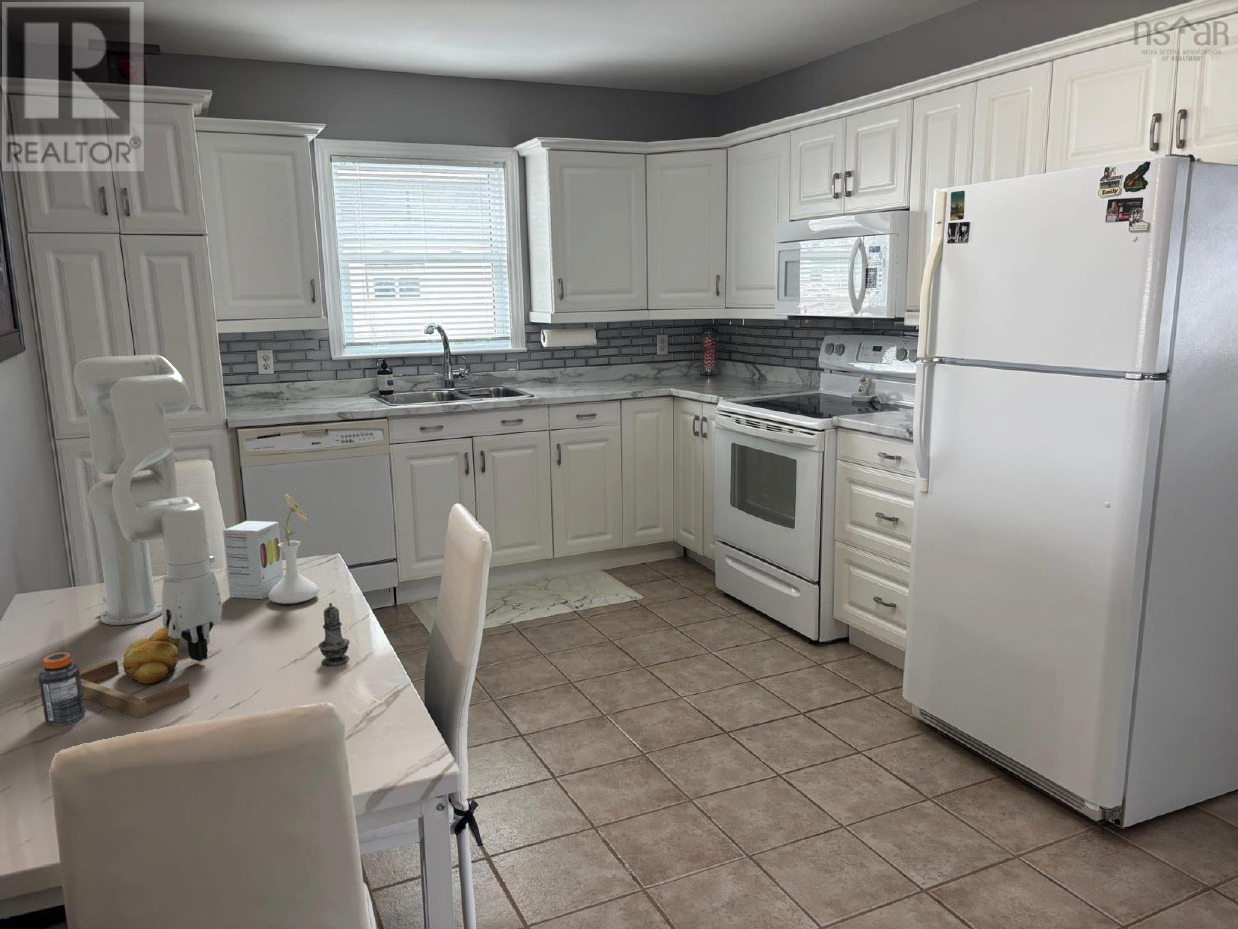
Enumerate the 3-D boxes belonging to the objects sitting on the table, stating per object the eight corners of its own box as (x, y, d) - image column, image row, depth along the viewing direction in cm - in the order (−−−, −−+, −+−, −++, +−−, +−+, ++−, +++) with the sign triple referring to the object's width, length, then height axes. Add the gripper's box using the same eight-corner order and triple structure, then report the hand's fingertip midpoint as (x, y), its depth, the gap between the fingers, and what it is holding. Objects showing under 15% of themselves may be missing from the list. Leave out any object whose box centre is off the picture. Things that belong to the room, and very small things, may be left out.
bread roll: (171, 685, 165) (166, 645, 164) (113, 692, 163) (107, 651, 162) (186, 658, 178) (182, 620, 176) (133, 664, 175) (128, 625, 174)
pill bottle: (57, 711, 156) (47, 650, 153) (92, 709, 156) (83, 648, 154) (38, 727, 150) (28, 664, 148) (74, 725, 150) (65, 662, 148)
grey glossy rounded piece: (158, 648, 183) (156, 627, 182) (194, 635, 190) (191, 615, 189) (183, 655, 179) (180, 634, 179) (218, 641, 186) (216, 621, 185)
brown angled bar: (63, 691, 164) (61, 678, 163) (114, 671, 172) (112, 659, 171) (139, 718, 152) (138, 704, 152) (190, 696, 161) (188, 683, 160)
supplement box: (263, 600, 211) (256, 531, 208) (228, 598, 213) (221, 529, 210) (285, 587, 220) (279, 521, 217) (252, 585, 222) (245, 519, 219)
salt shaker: (357, 656, 177) (352, 599, 174) (338, 668, 171) (333, 609, 169) (332, 653, 179) (327, 596, 176) (313, 665, 173) (307, 606, 171)
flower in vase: (316, 605, 207) (307, 500, 202) (264, 610, 204) (254, 503, 200) (323, 588, 219) (314, 488, 214) (274, 592, 217) (264, 491, 212)
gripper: (211, 556, 179) (220, 642, 183) (139, 576, 167) (151, 669, 170) (235, 561, 176) (244, 649, 179) (164, 582, 163) (175, 676, 166)
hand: (199, 658), depth 175 cm, fingers closed
